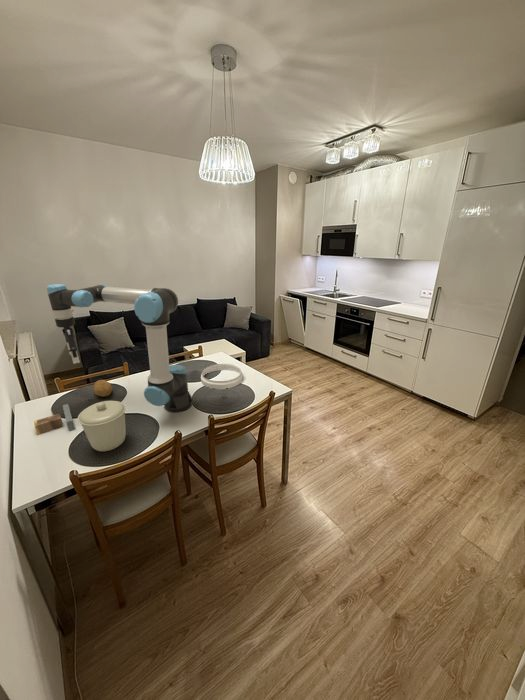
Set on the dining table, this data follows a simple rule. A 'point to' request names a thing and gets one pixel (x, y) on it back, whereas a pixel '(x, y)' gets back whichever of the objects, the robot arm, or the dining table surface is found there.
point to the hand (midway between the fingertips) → (74, 358)
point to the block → (48, 424)
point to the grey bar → (68, 417)
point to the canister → (104, 424)
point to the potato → (102, 388)
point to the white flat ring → (221, 384)
